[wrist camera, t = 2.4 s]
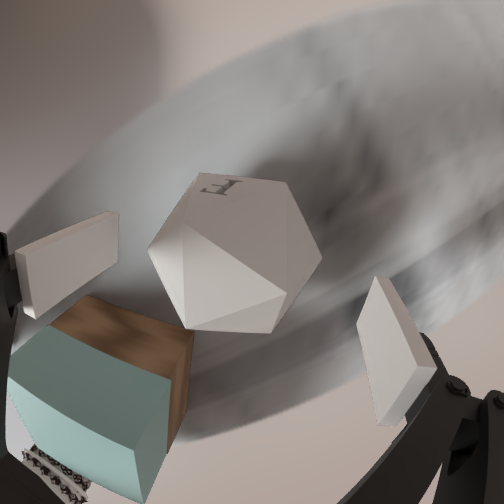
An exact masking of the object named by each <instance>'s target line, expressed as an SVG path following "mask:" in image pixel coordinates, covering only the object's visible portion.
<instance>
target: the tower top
mask: <svg viewBox="0 0 504 504" xmlns="http://www.w3.org/2000/svg"><path fill="white" fill-rule="evenodd" d="M170 390H171V380H170V379H167V378H164V377H161V376H159V375H156V374H153V373H151V372H148V371H146V370H143V369H141V368H138V367H136V366H133V365H131V364H128V363H126V362H124V361H121V360H119V359H117V358H115V357H112V356H110V355H108V354H106V353H103V352H101V351H99V350H97V349H95V348H93V347H91V346H89V345H87V344H85V343H83V342H80V341H78V340H77V339H75V338H73V337H71V336H69V335H67V334H65V333H63V332H61V331H59V330H57V329H56V328H54V327H52V326H50V325H46V326H45V327H44V328H43V329H42V330H40V331H39V332H38V333H37V334H36V335H34V336H33V337H32V338H31V339H30V340H28V341H27V342H26V343H25V344H24V345H23V346H21V347H20V348H19V349H18V350H17V351H16V352H15V353H13V354H12V355H11V356H10V362H9V370H8V380H7V391H8V393H9V395H10V397H11V399H12V402H13V404H14V406H15V408H16V410H17V412H18V414H19V416H20V418H21V419H22V421H23V423H24V425H25V427H26V429H27V430H28V432H29V434H30V436H31V437H32V439H33V441H34V443H35V444H36V446H37V447H38V448H39V449H40V450H42V451H43V452H45V453H46V454H47V455H49V456H50V457H52V458H54V459H55V460H57V461H58V462H60V463H61V464H63V465H65V466H66V467H68V468H69V469H71V470H73V471H75V472H76V473H78V474H80V475H82V476H83V477H85V478H87V479H89V480H91V481H92V482H94V483H96V484H98V485H100V486H102V487H104V488H106V489H108V490H110V491H112V492H115V493H117V494H119V495H121V496H124V497H126V498H128V499H130V500H132V501H135V502H137V503H140V504H145V502H146V500H147V497H148V495H149V493H150V491H151V488H152V486H153V484H154V481H155V479H156V477H157V474H158V472H159V470H160V468H161V465H162V463H163V461H164V458H165V456H166V454H167V434H168V417H169V403H170Z"/></svg>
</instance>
